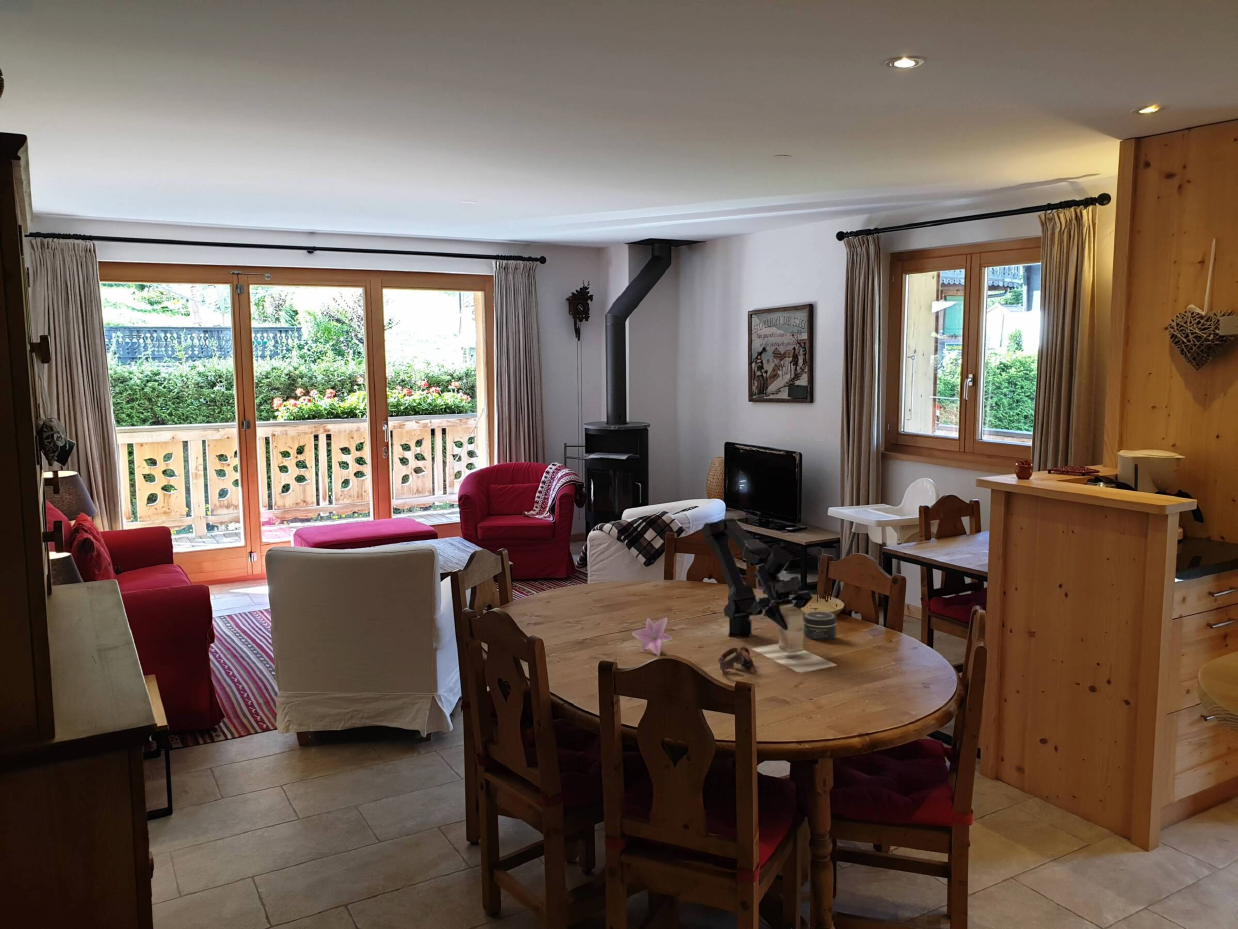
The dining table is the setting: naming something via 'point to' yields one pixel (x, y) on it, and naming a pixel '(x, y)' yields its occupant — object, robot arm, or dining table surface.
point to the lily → (652, 635)
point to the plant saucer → (822, 605)
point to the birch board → (794, 658)
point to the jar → (820, 625)
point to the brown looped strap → (736, 659)
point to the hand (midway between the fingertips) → (793, 628)
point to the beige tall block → (791, 630)
